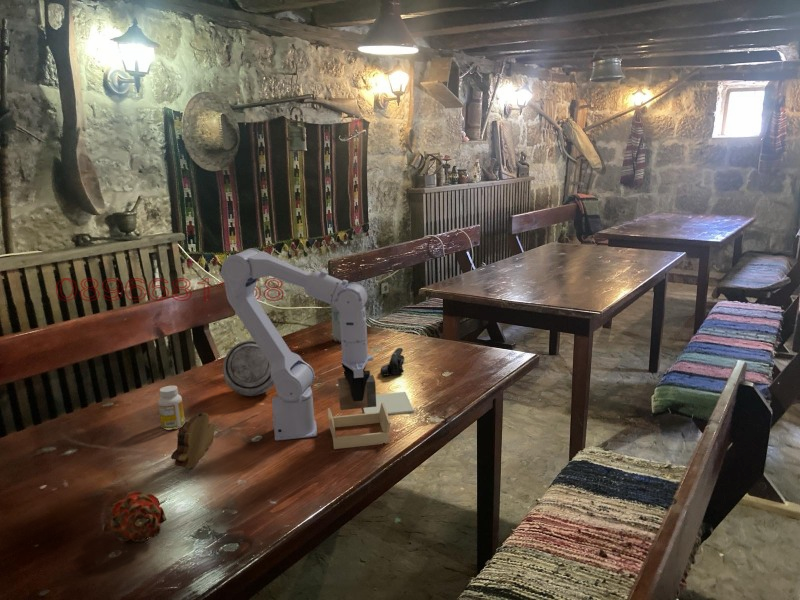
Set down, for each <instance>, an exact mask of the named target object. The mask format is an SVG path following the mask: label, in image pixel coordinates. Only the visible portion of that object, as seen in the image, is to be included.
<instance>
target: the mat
mask: <svg viewBox="0 0 800 600" xmlns="http://www.w3.org/2000/svg"><path fill="white" fill-rule="evenodd" d="M381 403H384V405H385V408H386V411H387V414H388V416H391V415H401V414H409V413H414V410H415V409H414V408H413V406H412V404H411V401H410V399H409V396H408V395H407V392H406V391H402V392H401V391H399V392H391V393H381V394H377V393H376V407H368V408H362V409H363V414H366V413H376V412H379V411H380V407H381Z"/></svg>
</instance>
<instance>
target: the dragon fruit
mask: <svg viewBox="0 0 800 600" xmlns="http://www.w3.org/2000/svg"><path fill="white" fill-rule="evenodd" d="M111 516H112V518H111V519H109V518H110V517H111ZM108 519H109V521H108V522H107V523H102V524H101V525H102V526H101V528H102V531H103V532H104V533H108V532H113V531H114V532H117V531H118V532H117V539H118V540H119V541H120V542H125V541H126V542H128V541H130V540H132V541H133V542H135V543H137V542H139V543H140V542H145V540H146V541H148V540H147V538H149V537H150V538H151V539H153V538H155V537H157V536H158V535H159V534H160V531H161V524H164V522H166V521H167V518H166V515H165V510H164V508H163V507H161V503H160V499H159V498H158V497H157V496H156V495H154V494H152V493H148V494H147V495H145V494H144V493H143V492H141V491H139V490H138V491H130V492H127V494H126V498H125V499H124V498H123V499H120V500H118V501H117V502H114V503H112V504H111V507H110V509H109V514H108V515H107V516H105V519H104V520H108ZM150 538H149V539H150ZM129 539H130V540H129Z"/></svg>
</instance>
